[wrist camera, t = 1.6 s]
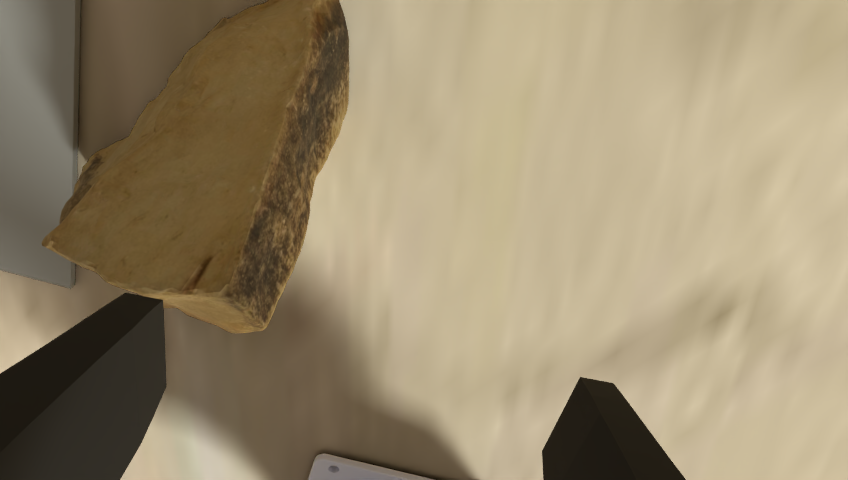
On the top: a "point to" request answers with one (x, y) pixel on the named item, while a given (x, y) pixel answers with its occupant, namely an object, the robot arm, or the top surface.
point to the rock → (218, 168)
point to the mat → (37, 132)
